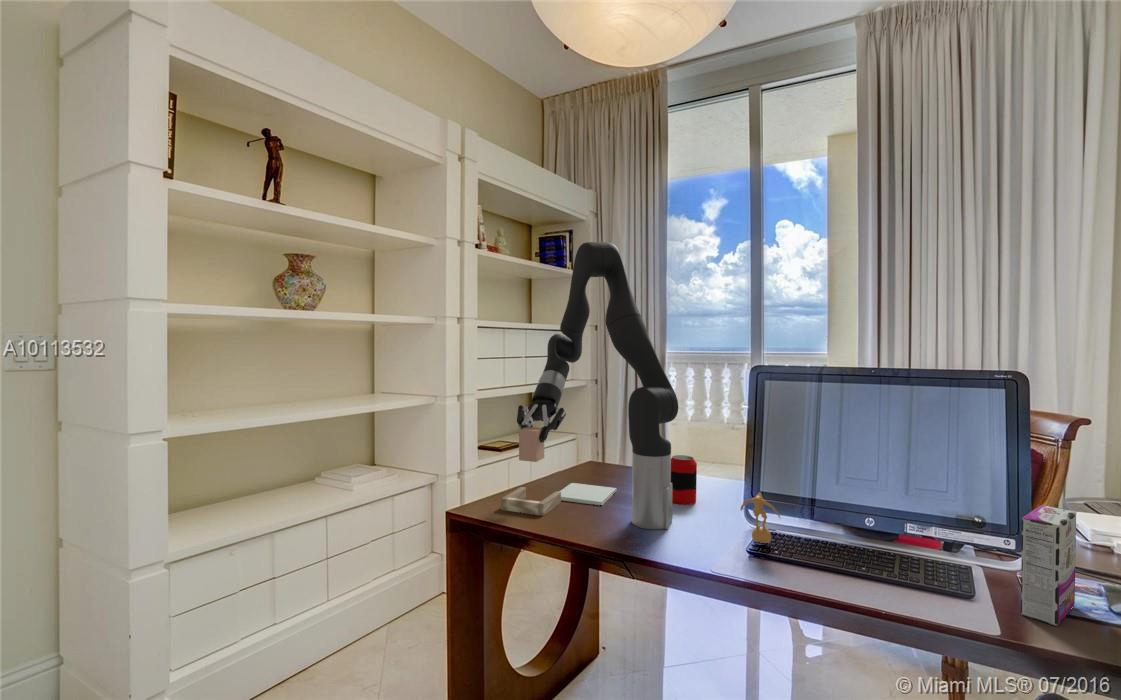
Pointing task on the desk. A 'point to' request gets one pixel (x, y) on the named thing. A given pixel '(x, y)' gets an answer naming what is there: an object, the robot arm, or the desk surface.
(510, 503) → the maple bay
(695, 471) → the soda can
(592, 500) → the sage mat
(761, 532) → the figurine
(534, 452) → the terracotta block
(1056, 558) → the candy bar box
